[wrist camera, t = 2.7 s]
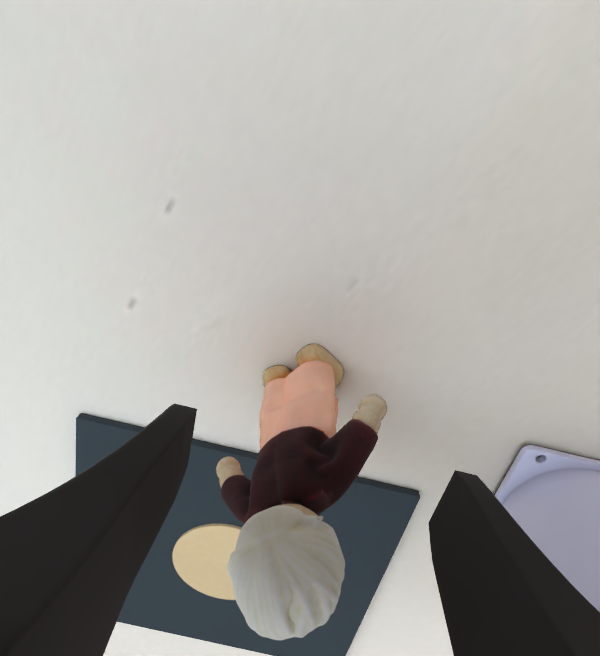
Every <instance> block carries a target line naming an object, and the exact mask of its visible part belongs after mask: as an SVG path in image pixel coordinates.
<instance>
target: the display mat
mask: <svg viewBox="0 0 600 656" xmlns="http://www.w3.org/2000/svg"><path fill="white" fill-rule="evenodd" d="M143 429H144V428H142V427H138V426H134V425H129V424H125V423H121V422H116V421H112V420H108V419H103V418H99V417H95V416H90V415H86V414H82V413H81V414H80V415H79V416H78V417H77V418H76V476H77V475H79V474H81V473H82V472H84V471H85V470H87V469H88V468H90V467H91V466H93V465H94V464H96V463H97V462H99V461H100V460H102V459H103V458H105V457H106V456H108V455H109V454H111V453H112V452H113V451H115V450H116V449H118V448H119V447H120V446H122V445H123V444H124V443H126V442H127V441H128V440H130V439H131V438H132V437H134V436H135V435H136V434H138V433H139V432H140V431H141V430H143ZM228 456H229V457H233V458H235V459H236V460H237V461H238V462H239V464H240V467H241V471H242V472H243V474H244V476H245V477H247V478H248V479H249V480H251V477H252V473H253V470H254V467H255V464H256V462H257V458H258V454H255V453H251V452H246V451H242V450H238V449H233V448H229V447H225V446H220V445H216V444H212V443H207V442H203V441H199V440H194V439H192V443H191V449H190V455H189V461H188V467H187V470H186V472H185V475H184V478H183V480H182V483H181V486H180V488H179V491H178V493H177V496H176V499H175V501H174V503H173V505H172V507H171V509H170V511H169V513H168V515H167V517H166V519H165V521H164V523H163V525H162V527H161V529H160V531H159V533H158V535H157V537H156V539H155V541H154V543H153V545H152V547H151V549H150V551H149V552H148V554H147V556H146V558H145V560H144V562H143V564H142V566H141V568H140V570H139V572H138V574H137V576H136V578H135V580H134V582H133V584H132V586H131V589H130V591H129V593H128V595H127V597H126V599H125V602H124V604H123V607H122V609H121V612H120V614H119V617H118V619H117V622H122V623H126V624H131V625H135V626H140V627H145V628H149V629H154V630H158V631H163V632H168V633H172V634H177V635H181V636H186V637H191V638H195V639H200V640H204V641H209V642H214V643H218V644H223V645H227V646H232V647H237V648H241V649H246V650H250V651H255V652H260V653H264V654H269V655H273V656H345V655H346V653H347V651H348V649H349V647H350V645H351V643H352V640H353V638H354V636H355V634H356V632H357V630H358V628H359V626H360V624H361V621H362V619H363V617H364V615H365V613H366V611H367V609H368V607H369V605H370V602H371V600H372V598H373V596H374V594H375V592H376V590H377V588H378V586H379V583H380V581H381V579H382V577H383V575H384V573H385V571H386V569H387V566H388V564H389V562H390V560H391V558H392V556H393V554H394V552H395V550H396V547H397V545H398V543H399V541H400V539H401V537H402V535H403V533H404V531H405V528H406V526H407V524H408V522H409V520H410V518H411V516H412V514H413V511H414V509H415V507H416V505H417V503H418V501H419V499H420V494H419V491H416V490H411V489H407V488H403V487H398V486H394V485H390V484H385V483H381V482H377V481H372V480H368V479H364V478H359V477H356V478H355V480H354V481H353V483H352V484H351V486H350V487H349V488H348V490H347V491H346V492H345V493H344V495H343V496H342V497H341V498H340V499H339V500H338V501H337V502H335V503H334V504H333V505H332V506H330V507H329V508H328V509H326V510H325V511H323V512H322V513H320V514H319V515H318V516H323V519H322V521H323V522H325V523H327V524H328V525H330V526H331V527H332V528H333V529H334V531H335V534H336V536H337V538H338V541H339V545H340V548H341V551H342V554H343V557H344V560H345V569H344V572H345V574H344V579H343V582H342V585H341V593H340V596H339V599H338V603H337V605H336V608H335V610H334V612H333V613H332V614H331V615H330V617H329V619H328V621H327V622H326V623H325V624H324V625H323V626H319V627H317V628H316V629H314V630H313V631H311V632H309V633H308V634H307V635H306V636H304V637H303V638H299V637H292V638H288V639H285V640H274V639H270V638H267V637H262V636H260V635H258V634H257V633H256V632H255V631H254V630H252V629H251V628H250V627H249V626H248V624H247V622H246V620H245V617H244V615H243V613H242V612H241V610H240V608H239V606H238V604H237V602H236V599H235V596H234V588H233V585H232V582H231V578H230V576H229V574H228V571H227V566H228V562H229V559H230V555H231V553H232V552H233V551H235V547H236V545H237V539H238V536H239V533H240V530H241V528H242V527H243V525H244V523H242V522H241V521H239V520H238V519H237V518H236V517H235V516H234V515H233V513H232V512H231V511H230V509H229V508H228V506H227V505H226V503H225V502H224V501H223V499H222V497H221V486H220V482H219V477H218V475H217V472H216V467H217V464H218V462H219V461H220V460H221V459H222V458H224V457H228Z"/></svg>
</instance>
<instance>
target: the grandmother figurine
mask: <svg viewBox="0 0 600 656" xmlns="http://www.w3.org/2000/svg"><path fill="white" fill-rule="evenodd" d="M296 361H297V364H298V366H299V367H297V368H296V369H295V370H294V371H293V372H291V371H290V370H289V369H288V368H287V367H285V366H281V365H276V366H273V367H270V368H268V369H266V370H265V372H264V373H263V383H264V387H265V389H264V397H263V402H262V406H261V411H260V452H259V454H258V458H257V462H256V464H255V467H254V470H253V473H252V477H251V480H249V479H248V478H247V477H245V476H244V474H243V472H242V471H241V467H240V464H239V462H238V461H237V460H236V459H235V458H233V457H229V456H228V457H224V458H222V459H221V460H220V461H219V462H218V464H217V467H216V472H217V475H218V477H219V482H220V486H221V497H222V499H223V501H224V502H225V503H226V505H227V506H228V508H229V509H230V511H231V512H232V513H233V515H234V516H235V517H236V518H237V519H238V520H239V521H241V522H242V523H244V525H243V527H242V528H241V530H240V533H239V536H238V539H237V545H236V547H235V551H233V552H232V553H231V555H230V559H229V562H228V566H227V571H228V574H229V576H230V578H231V582H232V585H233V588H234V596H235V599H236V602H237V604H238V606H239V608H240V610H241V612H242V613H243V615H244V617H245V620H246V622H247V624H248V626H249V627H250V628H251V629H252V630H254V631H255V632H256V633H257V634H258V635H260V636H262V637H267V638H270V639H274V640H285V639H288V638H292V637H299V638H303V637H304V636H306V635H307V634H308V633H309V632H311V631H313V630H314V629H316V628H317V627H319V626H323V625H324V624H325V623H326V622H327V621H328V619H329V617H330V615H331V614H332V613H333V612H334V610H335V608H336V605H337V603H338V599H339V596H340V593H341V585H342V582H343V579H344V574H345V572H344V569H345V560H344V557H343V554H342V551H341V548H340V545H339V541H338V538H337V536H336V534H335V531H334V529H333V528H332V527H331V526H330V525H328V524H327V523H325V522H323V521H322V519H323V516H318V515H319V514H320V513H322V512H323V511H325V510H326V509H328V508H329V507H330V506H332V505H333V504H334V503H335V502H337V501H338V500H339V499H340V498H341V497H342V496H343V495H344V493H345V492H346V491H347V490H348V488H349V487H350V486H351V484H352V483H353V481H354V480H355V478H356V477H357V475H358V474H359V472H360V471H361V469H362V467H363V465H364V464H365V462H366V460H367V458H368V457H369V455H370V453H371V452H372V450H373V448H374V447H375V444H376V442H377V440H378V436H377V433H378V431H379V429H380V425H381V420H382V419H383V418H384V416H385V415H386V412H387V405H386V402H385V400H384V399H383V398H382V397H380V396H378V395H375V394H370V395H367V396H365V397H364V398H363V399H362V400H361V402H360V404H359V410H358V411H357V412H356V413H355V414H354V415H353V417H352V419H351V420H350V421H349V422H348V423H347V424H346V425H344V426H343V427H342V429H341V430H339V431H338V432H337V433H336V422H337V414H338V399H337V398H335V387H337V386H338V385H339V384H340V382H341V381H342V379H343V376H344V370H343V367H342V365H341V364H340V363H339V362H338V361H337V360H336V359H335V358H334V357H333V356H332V355H331V354H330V353H329V352H328V351H327V350H325V349H324V348H323V347H322V346H320V345H317V344H310V345H307V346H305V347H304V348H302V349H301V350H300V351H299V352H298V353H297V356H296Z"/></svg>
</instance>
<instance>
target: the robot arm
mask: <svg viewBox="0 0 600 656" xmlns="http://www.w3.org/2000/svg"><path fill="white" fill-rule="evenodd" d="M196 411H197V409H195V408H191V407H187V406H182V405H178V404H173V405H171V406H170V407H169V408H167V409H166V410H165V411H164V412H163V413H162V414H161V415H159V416H158V417H157V418H156V419H155V420H154V421H152V422H151V423H150V424H149V425H147V426H146V427H145V428H144V429H143V430H141V431H140V432H139V433H138V434H136V435H135V436H134V437H132V438H131V439H130V440H128V441H127V442H126V443H124V444H123V445H122V446H120V447H119V448H118V449H116V450H115V451H113V452H112V453H111V454H109V455H108V456H106V457H105V458H103V459H102V460H100V461H99V462H97V463H96V464H94V465H93V466H91V467H90V468H88V469H87V470H85V471H84V472H82V473H81V474H79V475H77V476H76V477H74V478H72V479H71V480H69V481H67V482H66V483H64V484H62V485H61V486H59V487H57V488H55V489H54V490H52V491H50V492H48V493H46V494H45V495H43V496H41V497H39V498H37V499H35V500H33V501H31V502H29V503H27V504H25V505H23V506H21V507H19V508H18V509H15V510H13V511H11V512H9V513H7V514H5V515H3V516H1V517H0V656H103V654H104V651H105V649H106V646H107V644H108V641H109V639H110V636H111V634H112V631H113V629H114V626H115V624H116V622H117V619H118V617H119V614H120V612H121V609H122V607H123V604H124V602H125V599H126V597H127V595H128V593H129V591H130V589H131V586H132V584H133V582H134V580H135V578H136V576H137V574H138V572H139V570H140V568H141V566H142V564H143V562H144V560H145V558H146V556H147V554H148V552H149V551H150V549H151V547H152V545H153V543H154V541H155V539H156V537H157V535H158V533H159V531H160V529H161V527H162V525H163V523H164V521H165V519H166V517H167V515H168V513H169V511H170V509H171V507H172V505H173V503H174V501H175V499H176V496H177V493H178V491H179V488H180V486H181V483H182V480H183V478H184V475H185V472H186V470H187V467H188V461H189V455H190V449H191V443H192V436H193V430H194V424H195V418H196ZM539 455H542V456H541V457H539V458H536V457H537V456H539ZM429 532H430V544H431V553H432V561H433V566H434V571H435V575H436V580H437V584H438V589H439V593H440V597H441V602H442V606H443V610H444V615H445V619H446V623H447V627H448V632H449V636H450V640H451V645H452V649H453V654H454V656H600V461H598V460H594V459H589V458H585V457H581V456H577V455H572V454H568V453H564V452H560V451H555V450H551V449H547V448H543V447H538V446H534V445H528V446H525V447H523V448H522V449H521V450H520V452H519V453H518V455H517V457H516V459H515V460H514V462H513V464H512V466H511V467H510V469H509V471H508V473H507V474H506V476H505V478H504V480H503V481H502V483H501V485H500V487H499V488H498V490H497V492H496V494H495V495H494V494H493V493H492V492H491V491H490V490H489V489H488V487H487V486H486V485H485V484H484V483H483V482H482V481H481V480H480V478H479V477H478V476H477V475H472V474H468V473H464V472H460V471H456V470H455V472H454V474H453V476H452V478H451V480H450V482H449V484H448V486H447V488H446V490H445V492H444V494H443V495H442V497H441V499H440V501H439V503H438V505H437V507H436V509H435V511H434V513H433V515H432V517H431V519H430V521H429Z"/></svg>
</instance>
